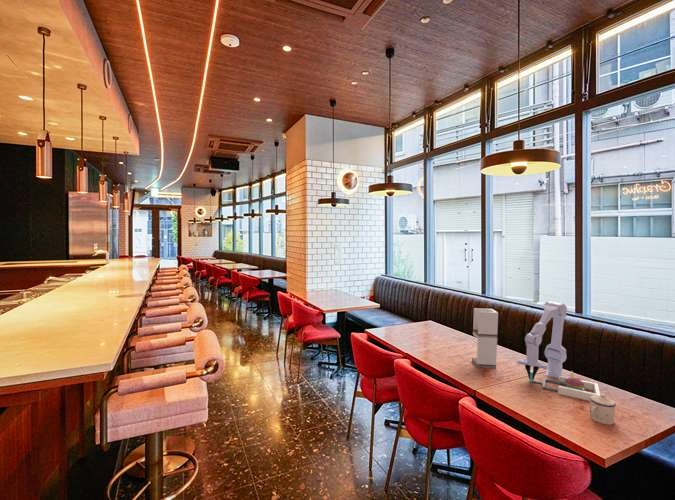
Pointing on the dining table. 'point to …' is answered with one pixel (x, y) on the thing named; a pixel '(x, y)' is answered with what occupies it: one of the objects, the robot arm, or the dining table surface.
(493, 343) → the light grey tall block
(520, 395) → the dining table surface
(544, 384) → the frame with teal handle
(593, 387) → the white rectangular tray
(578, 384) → the cupcake
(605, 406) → the teacup with lid
